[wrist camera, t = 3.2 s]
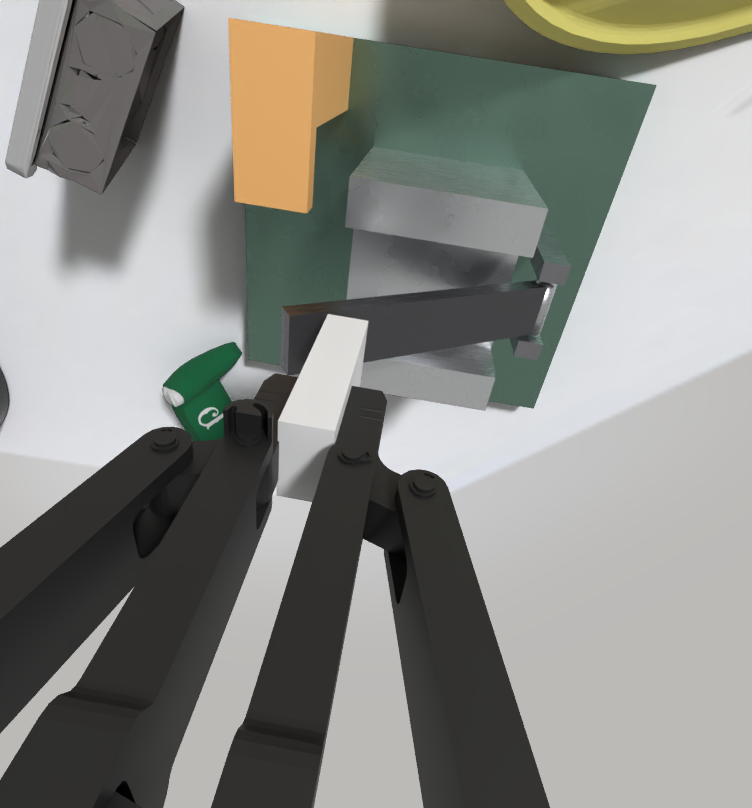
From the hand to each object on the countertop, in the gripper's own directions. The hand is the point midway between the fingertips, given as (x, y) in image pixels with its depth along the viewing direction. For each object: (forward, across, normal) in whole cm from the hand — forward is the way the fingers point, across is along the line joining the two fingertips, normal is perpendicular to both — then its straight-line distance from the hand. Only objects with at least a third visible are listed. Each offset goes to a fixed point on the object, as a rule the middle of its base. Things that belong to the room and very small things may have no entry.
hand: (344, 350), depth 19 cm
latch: (+13, +4, -6) cm, 15 cm away
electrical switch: (+15, +14, -7) cm, 22 cm away
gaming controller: (+15, +10, +14) cm, 23 cm away
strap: (+4, -3, 0) cm, 5 cm away
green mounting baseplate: (+15, -2, 0) cm, 15 cm away
